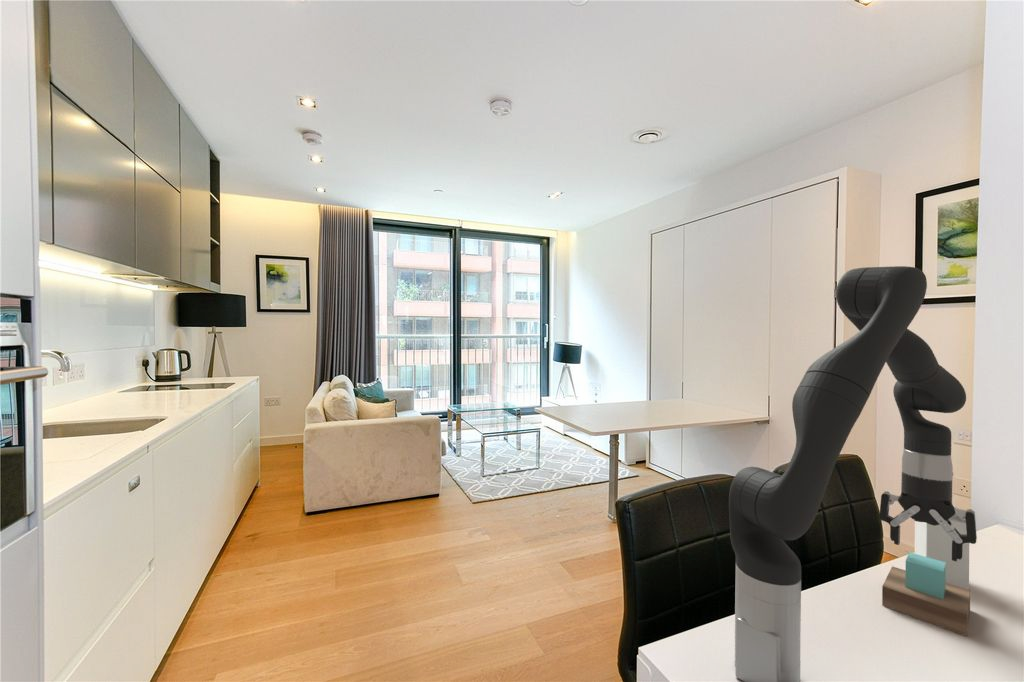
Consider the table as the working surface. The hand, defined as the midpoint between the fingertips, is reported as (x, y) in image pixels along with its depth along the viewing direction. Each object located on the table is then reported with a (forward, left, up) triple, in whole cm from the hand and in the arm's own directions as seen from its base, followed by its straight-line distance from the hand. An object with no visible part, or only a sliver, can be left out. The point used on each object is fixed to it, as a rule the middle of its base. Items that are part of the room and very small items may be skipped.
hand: (924, 551), depth 87 cm
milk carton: (+17, -1, -12) cm, 21 cm away
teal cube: (0, 0, -8) cm, 8 cm away
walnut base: (0, 0, -12) cm, 12 cm away
